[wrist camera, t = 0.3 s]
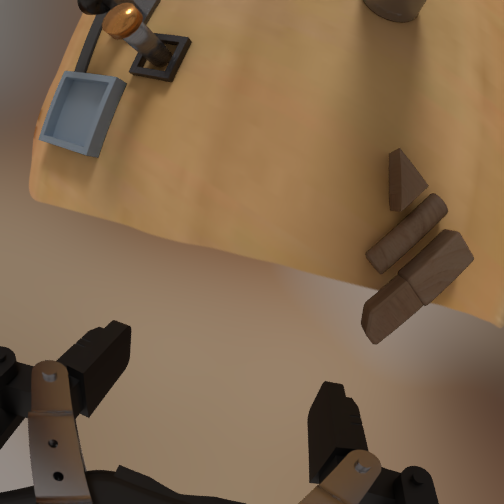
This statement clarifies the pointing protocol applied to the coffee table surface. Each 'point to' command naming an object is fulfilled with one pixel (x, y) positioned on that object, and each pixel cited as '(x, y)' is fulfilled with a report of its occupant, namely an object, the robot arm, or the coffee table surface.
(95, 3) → the pulley stand
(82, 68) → the strip
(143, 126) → the coffee table surface
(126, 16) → the pin
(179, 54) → the frame
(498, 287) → the coffee table surface
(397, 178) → the wooden block set
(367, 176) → the coffee table surface
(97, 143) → the tray
